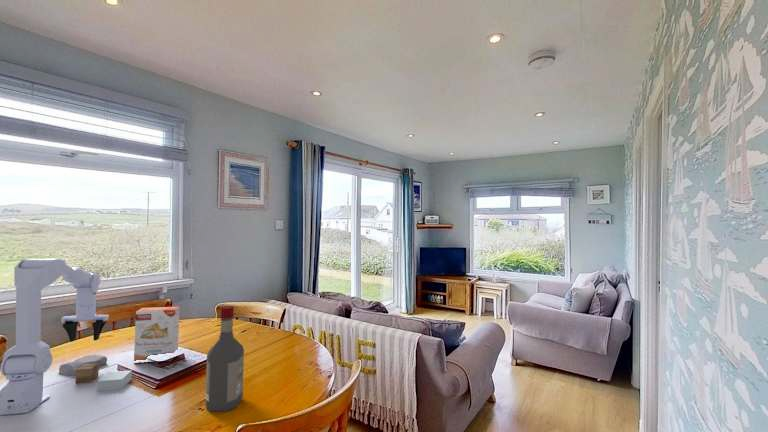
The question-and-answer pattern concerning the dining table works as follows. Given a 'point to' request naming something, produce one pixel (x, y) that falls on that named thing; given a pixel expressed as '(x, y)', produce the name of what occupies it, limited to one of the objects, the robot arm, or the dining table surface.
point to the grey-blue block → (114, 380)
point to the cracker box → (156, 331)
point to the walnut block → (87, 373)
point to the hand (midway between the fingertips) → (84, 340)
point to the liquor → (224, 368)
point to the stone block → (72, 366)
